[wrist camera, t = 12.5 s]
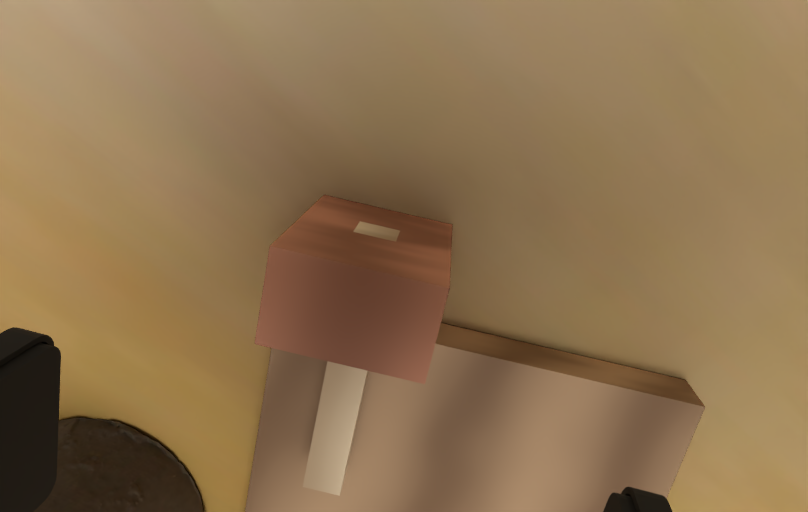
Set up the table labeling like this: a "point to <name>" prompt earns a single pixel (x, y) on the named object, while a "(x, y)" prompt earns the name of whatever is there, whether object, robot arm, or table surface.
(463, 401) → the plank
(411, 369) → the wooden mallet
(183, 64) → the table surface
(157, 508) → the pillar candle
